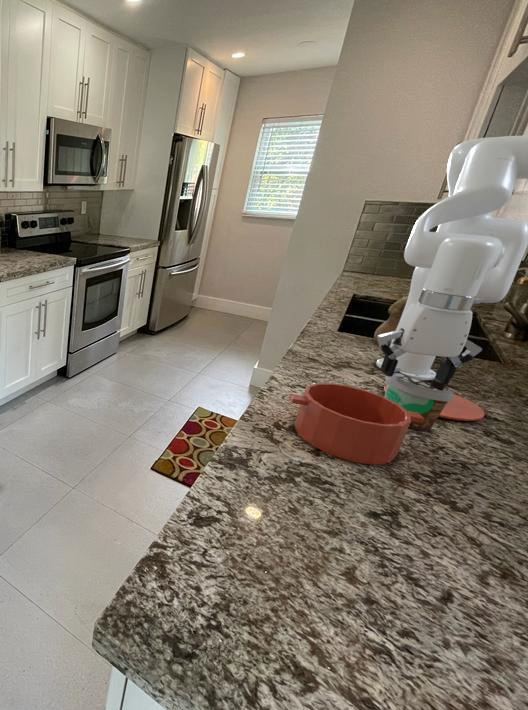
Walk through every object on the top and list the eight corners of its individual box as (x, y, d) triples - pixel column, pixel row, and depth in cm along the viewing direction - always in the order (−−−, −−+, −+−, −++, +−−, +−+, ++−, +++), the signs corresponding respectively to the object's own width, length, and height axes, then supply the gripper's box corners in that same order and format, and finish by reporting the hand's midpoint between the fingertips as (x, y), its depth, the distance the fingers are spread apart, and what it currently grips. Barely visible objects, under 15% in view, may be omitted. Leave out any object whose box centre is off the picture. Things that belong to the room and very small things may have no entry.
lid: (369, 381, 109) (377, 360, 107) (451, 392, 104) (461, 370, 102) (405, 414, 94) (415, 391, 91) (504, 429, 89) (517, 405, 87)
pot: (271, 408, 95) (280, 376, 92) (385, 426, 89) (399, 392, 86) (293, 451, 80) (305, 413, 77) (431, 475, 74) (450, 436, 71)
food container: (359, 405, 97) (373, 367, 94) (383, 404, 98) (398, 366, 94) (410, 435, 86) (428, 393, 82) (436, 434, 86) (456, 392, 83)
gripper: (485, 301, 83) (451, 377, 89) (383, 292, 88) (357, 364, 94) (515, 311, 76) (476, 392, 82) (403, 300, 81) (373, 378, 87)
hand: (413, 377), depth 88 cm, fingers open, 9 cm apart
